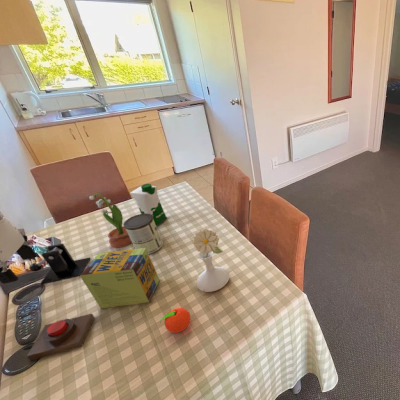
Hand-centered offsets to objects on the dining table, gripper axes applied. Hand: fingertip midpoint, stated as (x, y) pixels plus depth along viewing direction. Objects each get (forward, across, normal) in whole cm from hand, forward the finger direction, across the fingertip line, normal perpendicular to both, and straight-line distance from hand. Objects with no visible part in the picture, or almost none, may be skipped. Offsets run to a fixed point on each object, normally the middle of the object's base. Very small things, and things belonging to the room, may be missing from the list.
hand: (21, 269), depth 75 cm
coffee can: (+21, -28, +22) cm, 41 cm away
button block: (+21, +10, +5) cm, 24 cm away
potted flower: (+21, -36, +10) cm, 43 cm away
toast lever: (+14, -22, -8) cm, 28 cm away
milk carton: (+21, -49, +21) cm, 57 cm away
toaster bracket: (+20, -22, -5) cm, 31 cm away
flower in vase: (+22, +4, +48) cm, 53 cm away
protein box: (+21, -2, +20) cm, 29 cm away
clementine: (+22, +19, +37) cm, 47 cm away
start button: (+17, +10, +5) cm, 21 cm away
